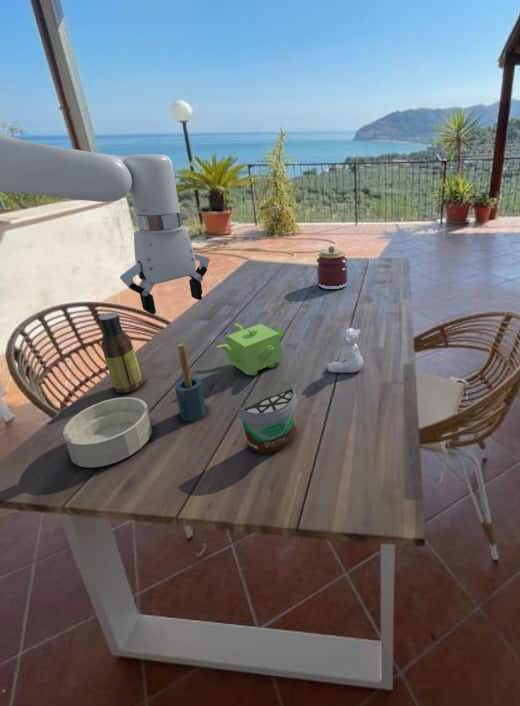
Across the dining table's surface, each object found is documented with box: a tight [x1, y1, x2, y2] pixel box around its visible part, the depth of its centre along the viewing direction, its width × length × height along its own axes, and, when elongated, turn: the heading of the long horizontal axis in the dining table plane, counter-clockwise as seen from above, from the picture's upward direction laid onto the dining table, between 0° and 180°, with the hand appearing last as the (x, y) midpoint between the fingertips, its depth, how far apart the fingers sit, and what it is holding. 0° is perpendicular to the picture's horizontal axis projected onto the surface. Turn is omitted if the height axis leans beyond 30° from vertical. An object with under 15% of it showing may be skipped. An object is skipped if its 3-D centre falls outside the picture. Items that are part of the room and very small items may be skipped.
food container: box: [236, 384, 298, 454], centre depth 77 cm, size 12×6×10 cm, turn 129°
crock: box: [174, 376, 207, 423], centre depth 86 cm, size 5×5×8 cm
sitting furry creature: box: [327, 327, 365, 374], centre depth 104 cm, size 10×9×12 cm
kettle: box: [216, 322, 286, 377], centre depth 105 cm, size 15×14×11 cm
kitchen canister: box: [316, 245, 348, 286], centre depth 166 cm, size 13×13×18 cm
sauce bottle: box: [98, 312, 143, 394], centre depth 94 cm, size 7×6×20 cm
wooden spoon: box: [177, 342, 192, 388], centre depth 85 cm, size 1×3×17 cm, turn 36°
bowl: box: [62, 396, 153, 469], centre depth 78 cm, size 14×14×6 cm
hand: (174, 305), depth 80 cm, fingers open, 9 cm apart
